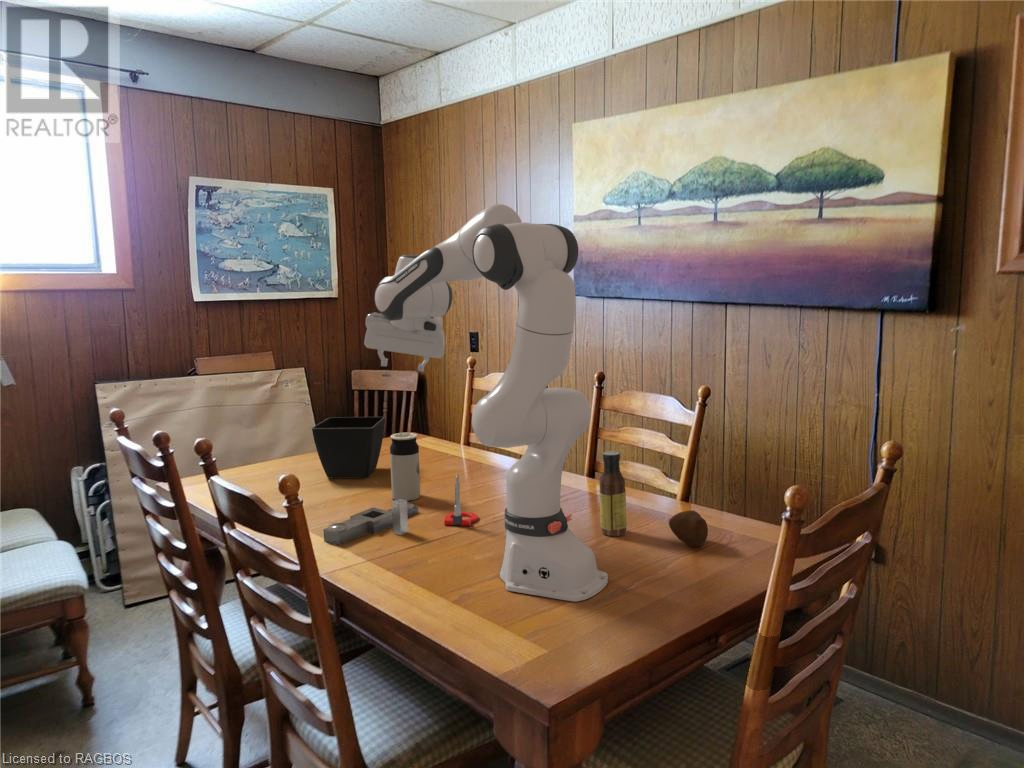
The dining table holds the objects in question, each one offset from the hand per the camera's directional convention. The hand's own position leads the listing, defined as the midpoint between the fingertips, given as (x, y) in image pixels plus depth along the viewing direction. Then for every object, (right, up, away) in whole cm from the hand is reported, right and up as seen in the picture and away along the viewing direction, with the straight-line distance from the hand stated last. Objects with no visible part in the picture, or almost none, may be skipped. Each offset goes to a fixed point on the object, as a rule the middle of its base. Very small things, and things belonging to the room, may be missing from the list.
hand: (402, 368), depth 186 cm
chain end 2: (-4, -39, -1) cm, 39 cm away
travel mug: (-2, -36, +18) cm, 41 cm away
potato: (+69, -41, -19) cm, 83 cm away
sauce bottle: (+53, -40, -12) cm, 67 cm away
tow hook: (+15, -39, -1) cm, 42 cm away
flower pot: (-23, -33, +44) cm, 60 cm away
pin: (+1, -40, -10) cm, 42 cm away
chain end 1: (-9, -40, -9) cm, 42 cm away
